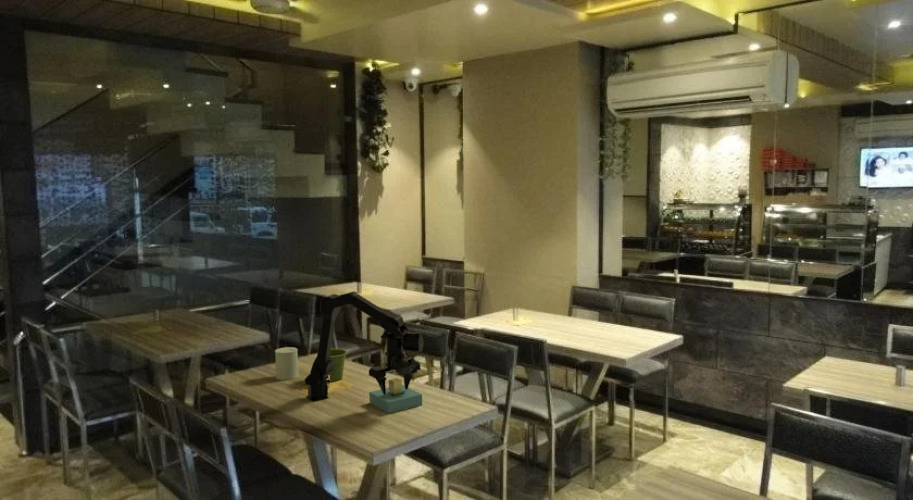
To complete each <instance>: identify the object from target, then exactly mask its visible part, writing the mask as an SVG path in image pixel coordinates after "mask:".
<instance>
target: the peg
mask: <svg viewBox="0 0 913 500" xmlns="http://www.w3.org/2000/svg"><path fill="white" fill-rule="evenodd" d="M402 385H403V383H402V379H400V378H398V377H394V378H391V379H388V388H389V395H391V396H397V395H401V394H402Z"/></svg>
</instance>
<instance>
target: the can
mask: <svg viewBox="0 0 913 500" xmlns="http://www.w3.org/2000/svg"><path fill="white" fill-rule="evenodd" d="M298 350H299V349H298V348H296V347H293V346H292V347H291V346H289V347H288V346H285V347H281V348H277V349H275V350H274V354H275V379H277V380H280V381H289V380H294V379H297V378H298V377H299V376H300V375H299V361H298Z"/></svg>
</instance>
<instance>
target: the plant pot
mask: <svg viewBox="0 0 913 500" xmlns="http://www.w3.org/2000/svg"><path fill="white" fill-rule="evenodd" d="M347 354H348V351H347V350H346V349H343V348H331V351H330V357H331V360H335V362H334V365H333V368H334V370H333V371H332V372H331V374H330V380H331V381H330V382H338V381H340V380H342V379H343V376H344V368H345V363H346V362H345V361H346V357H347Z"/></svg>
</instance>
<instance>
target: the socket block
mask: <svg viewBox="0 0 913 500" xmlns="http://www.w3.org/2000/svg"><path fill="white" fill-rule="evenodd" d="M368 395H369V403H370V404H371V405H373V406H375V407H377V408H378V409H380V410H382V411H383V412H384V413H385V412H386V413H388V414H393V413H395V412H400V411H404V410H407V409H412V408H413V409H414V408H417V407H420V406H423V394H422V393H420V392H418V391H416V390H414V389H412V388H409V387H408V389H407V390H406V389H405V386H404V384H402V394H401V395H397V396H391V395H389V387H386V394H385V395H384V394H383V392H382V390H381V389H378V390H372V391H370V392H369V393H368Z"/></svg>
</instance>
